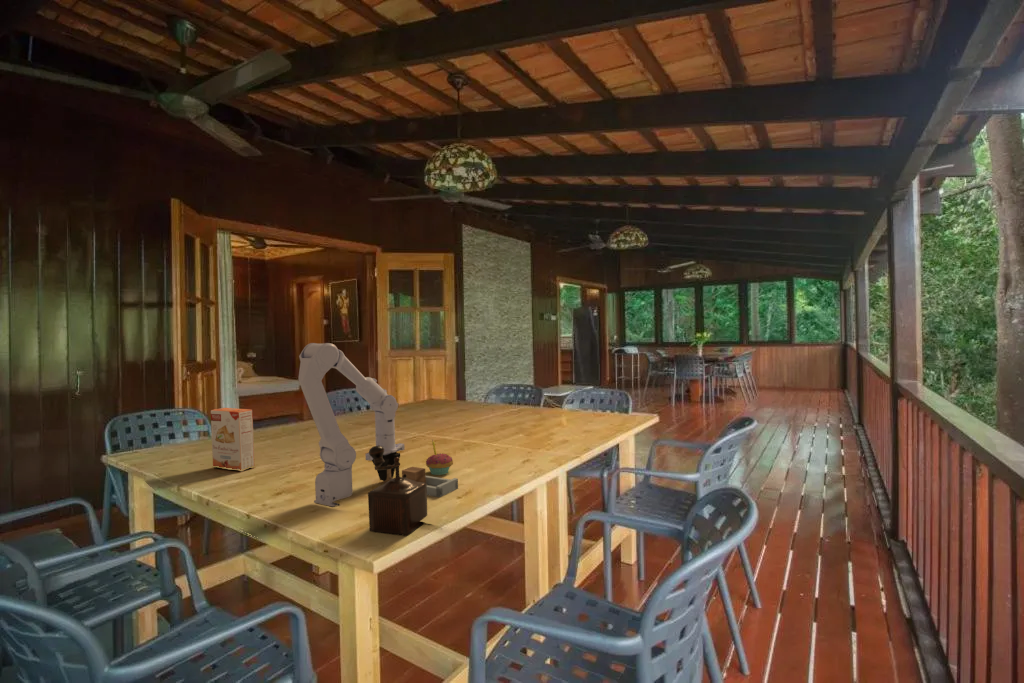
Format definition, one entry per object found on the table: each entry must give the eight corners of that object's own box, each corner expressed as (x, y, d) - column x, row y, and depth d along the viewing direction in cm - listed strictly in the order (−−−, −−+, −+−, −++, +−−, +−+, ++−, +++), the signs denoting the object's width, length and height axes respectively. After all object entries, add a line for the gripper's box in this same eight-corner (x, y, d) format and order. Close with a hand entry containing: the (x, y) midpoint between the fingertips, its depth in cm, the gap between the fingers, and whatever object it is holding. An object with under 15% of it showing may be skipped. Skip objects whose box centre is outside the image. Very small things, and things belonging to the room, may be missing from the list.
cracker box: (211, 469, 174) (209, 409, 174) (227, 464, 180) (225, 407, 179) (240, 472, 169) (237, 411, 168) (255, 468, 174) (253, 408, 174)
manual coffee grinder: (430, 518, 123) (428, 446, 122) (407, 536, 112) (404, 457, 112) (376, 512, 128) (374, 443, 128) (349, 529, 117) (347, 453, 117)
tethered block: (415, 489, 142) (415, 472, 142) (379, 483, 149) (378, 466, 149) (425, 485, 146) (425, 468, 146) (389, 479, 153) (389, 463, 153)
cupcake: (427, 481, 154) (426, 442, 154) (425, 473, 162) (424, 437, 162) (455, 478, 156) (454, 440, 156) (451, 471, 164) (450, 435, 164)
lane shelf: (435, 503, 134) (435, 488, 133) (386, 494, 142) (385, 480, 142) (461, 490, 144) (461, 476, 144) (413, 482, 153) (413, 469, 153)
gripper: (377, 440, 142) (378, 487, 142) (411, 430, 154) (412, 474, 155) (359, 437, 145) (361, 484, 146) (394, 428, 158) (395, 471, 158)
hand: (386, 478), depth 150 cm, fingers closed on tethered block, 2 cm apart
